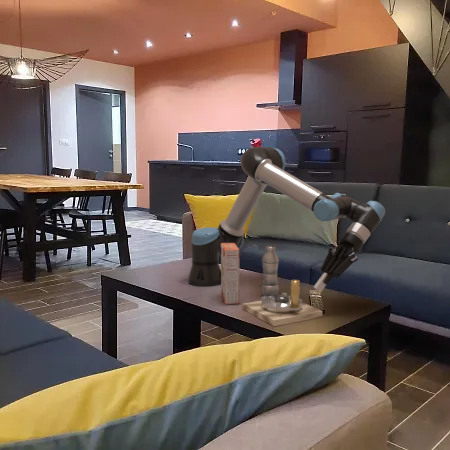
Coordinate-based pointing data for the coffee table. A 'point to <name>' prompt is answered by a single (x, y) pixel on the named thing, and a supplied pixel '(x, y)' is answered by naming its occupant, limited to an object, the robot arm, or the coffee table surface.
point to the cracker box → (230, 273)
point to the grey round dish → (284, 300)
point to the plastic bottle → (270, 272)
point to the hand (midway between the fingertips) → (317, 289)
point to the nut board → (281, 314)
